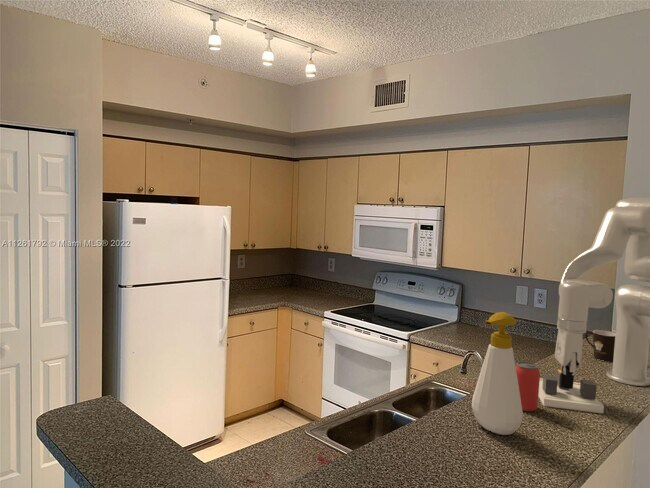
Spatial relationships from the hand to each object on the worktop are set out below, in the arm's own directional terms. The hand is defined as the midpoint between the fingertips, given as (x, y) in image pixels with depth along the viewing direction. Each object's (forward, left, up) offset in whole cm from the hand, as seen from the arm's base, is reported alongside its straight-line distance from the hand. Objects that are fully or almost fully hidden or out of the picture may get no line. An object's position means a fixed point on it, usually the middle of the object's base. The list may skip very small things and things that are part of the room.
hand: (566, 387), depth 139 cm
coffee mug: (-50, +24, -4) cm, 56 cm away
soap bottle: (+29, -23, -4) cm, 37 cm away
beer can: (+11, -13, -4) cm, 17 cm away
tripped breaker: (-4, 0, -1) cm, 4 cm away
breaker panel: (-1, 0, -3) cm, 4 cm away
